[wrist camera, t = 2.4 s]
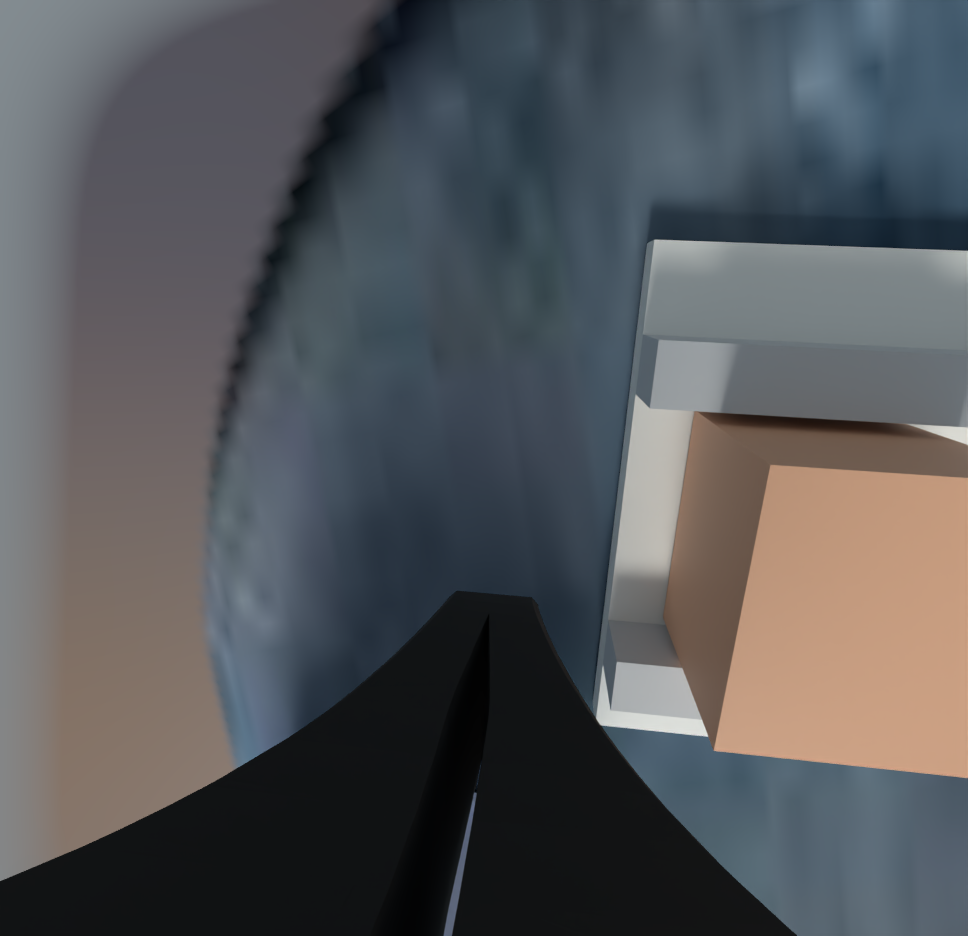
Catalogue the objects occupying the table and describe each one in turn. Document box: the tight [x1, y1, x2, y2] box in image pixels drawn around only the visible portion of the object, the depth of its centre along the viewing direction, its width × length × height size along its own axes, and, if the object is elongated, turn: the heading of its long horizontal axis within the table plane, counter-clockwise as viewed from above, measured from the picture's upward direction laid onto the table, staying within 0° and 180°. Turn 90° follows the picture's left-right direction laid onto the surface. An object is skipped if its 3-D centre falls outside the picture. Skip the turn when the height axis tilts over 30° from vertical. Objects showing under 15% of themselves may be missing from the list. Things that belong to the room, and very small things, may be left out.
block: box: [663, 411, 968, 778], centre depth 13 cm, size 5×6×5 cm
